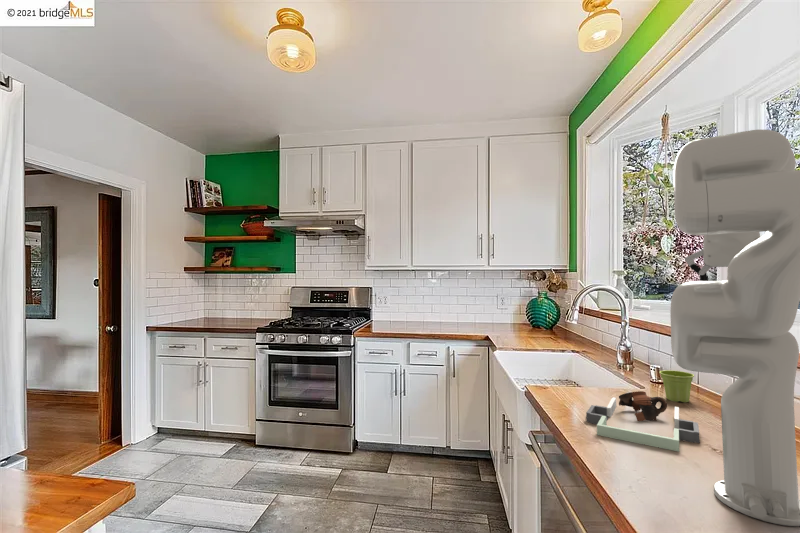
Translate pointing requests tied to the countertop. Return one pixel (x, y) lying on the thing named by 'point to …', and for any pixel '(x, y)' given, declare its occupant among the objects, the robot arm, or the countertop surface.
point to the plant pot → (677, 385)
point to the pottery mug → (643, 405)
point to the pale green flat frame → (682, 431)
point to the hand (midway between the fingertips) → (732, 291)
